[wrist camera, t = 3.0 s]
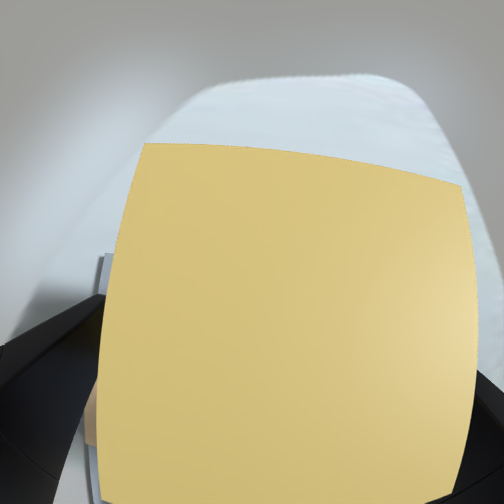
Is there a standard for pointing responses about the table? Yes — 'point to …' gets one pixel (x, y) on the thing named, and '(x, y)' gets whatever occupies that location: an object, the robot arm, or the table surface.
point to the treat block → (285, 332)
